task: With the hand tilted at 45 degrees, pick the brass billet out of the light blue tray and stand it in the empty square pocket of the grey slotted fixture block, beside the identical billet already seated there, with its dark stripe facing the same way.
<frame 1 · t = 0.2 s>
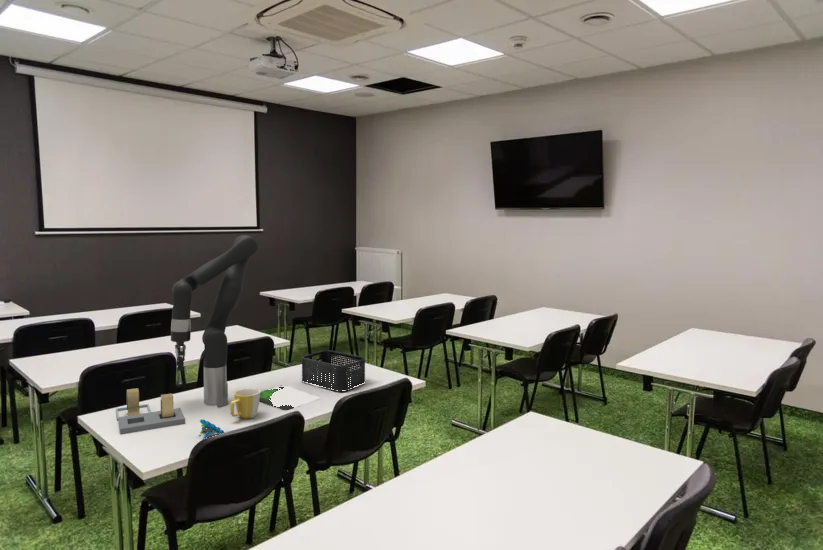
hand: (179, 368, 219), 18 cm above the table, tool pointing down, fingers open, 8 cm apart
light blue tray: (133, 415, 213), on the table
mug: (244, 418, 215), on the table
seated billet: (167, 420, 207), point 1 cm above the table, touching grey slotted fixture block
blue and green toy: (211, 437, 196), on the table
grey slotted fixture block: (152, 425, 204), on the table
storage bin: (333, 383, 263), on the table
brass billet: (133, 414, 213), point 1 cm above the table, touching light blue tray
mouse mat: (284, 398, 240), on the table
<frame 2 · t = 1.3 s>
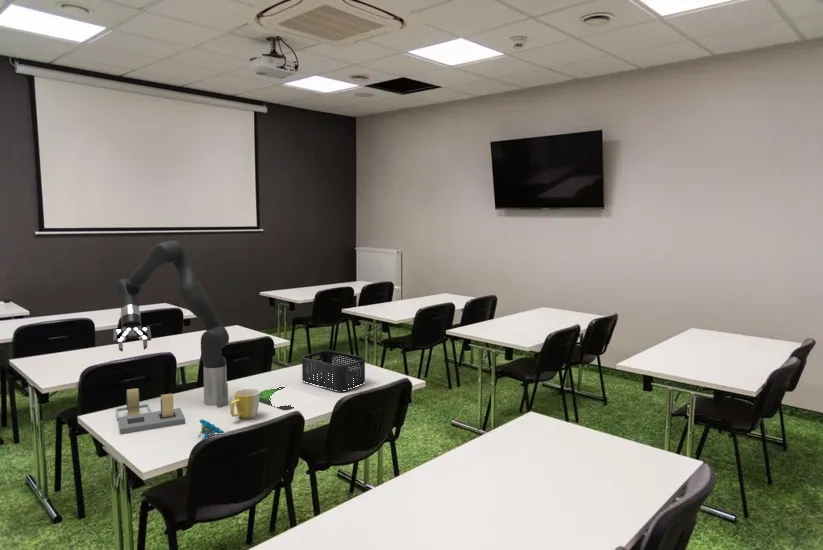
hand: (133, 349, 221), 25 cm above the table, tool tilted 45°, fingers open, 8 cm apart
nothing on the table moved.
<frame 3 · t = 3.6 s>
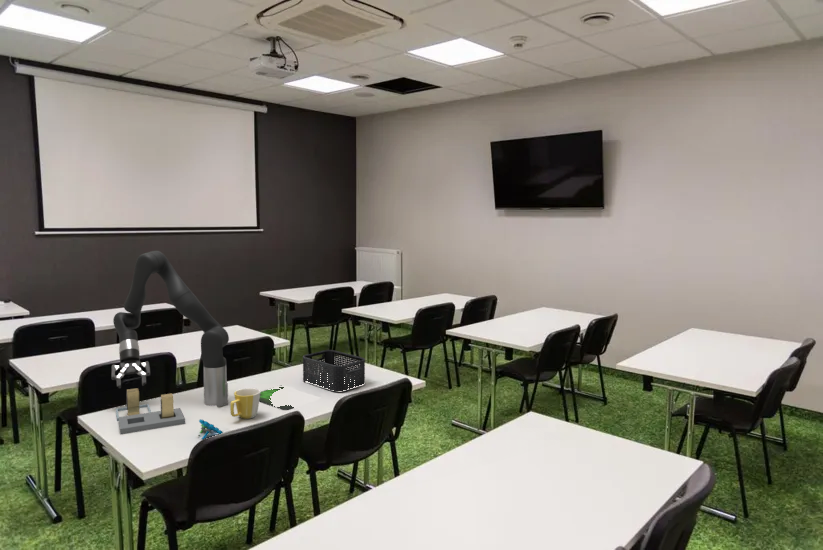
hand: (131, 386, 217), 11 cm above the table, tool tilted 45°, fingers open, 8 cm apart
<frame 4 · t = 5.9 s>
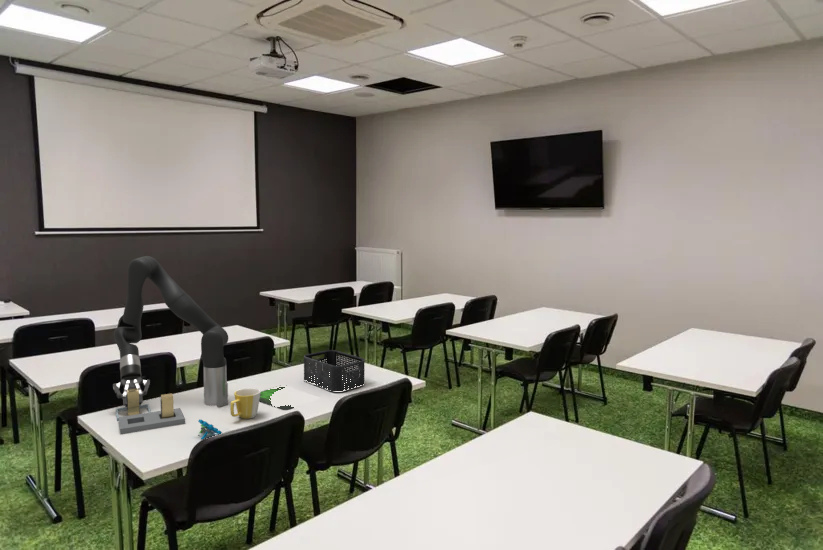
hand: (133, 405, 211), 5 cm above the table, tool tilted 45°, fingers closed on brass billet, 4 cm apart
brass billet: (133, 414, 213), point 1 cm above the table, touching gripper, light blue tray
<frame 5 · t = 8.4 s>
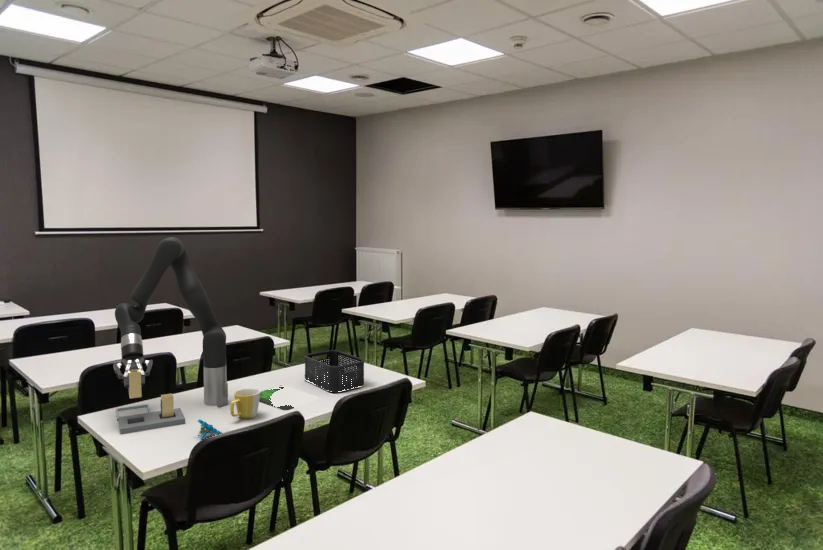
hand: (134, 386, 198), 17 cm above the table, tool tilted 45°, fingers closed on brass billet, 4 cm apart
brass billet: (135, 396, 200), point 12 cm above the table, touching gripper
when the fingers open (6 cm above the table, at t = 11.2 s): brass billet stays where it is, resting on grey slotted fixture block.
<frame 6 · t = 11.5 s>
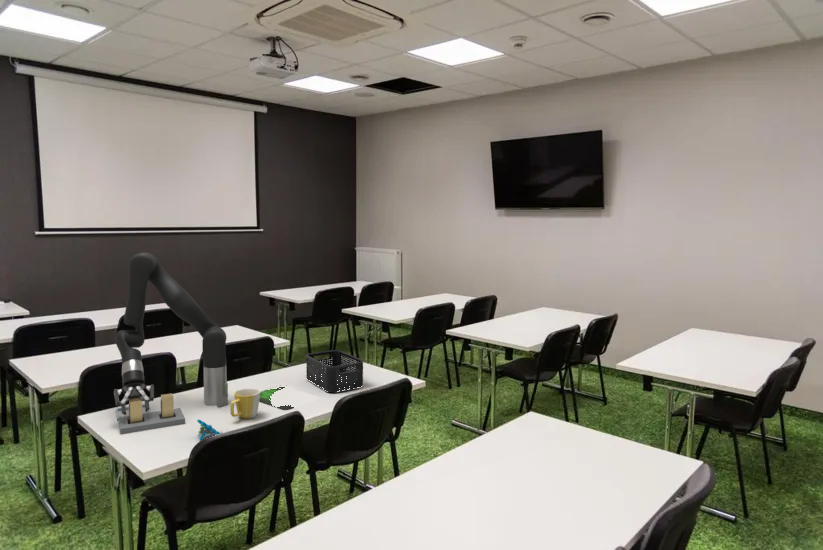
hand: (135, 412, 199), 7 cm above the table, tool tilted 45°, fingers open, 6 cm apart
brass billet: (136, 425, 201), point 1 cm above the table, touching grey slotted fixture block
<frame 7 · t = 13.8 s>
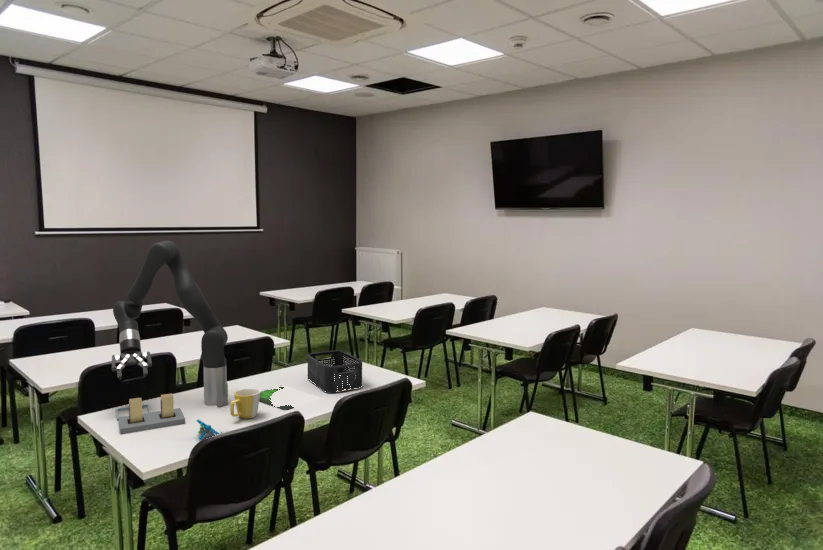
hand: (133, 377, 210), 17 cm above the table, tool tilted 45°, fingers open, 8 cm apart
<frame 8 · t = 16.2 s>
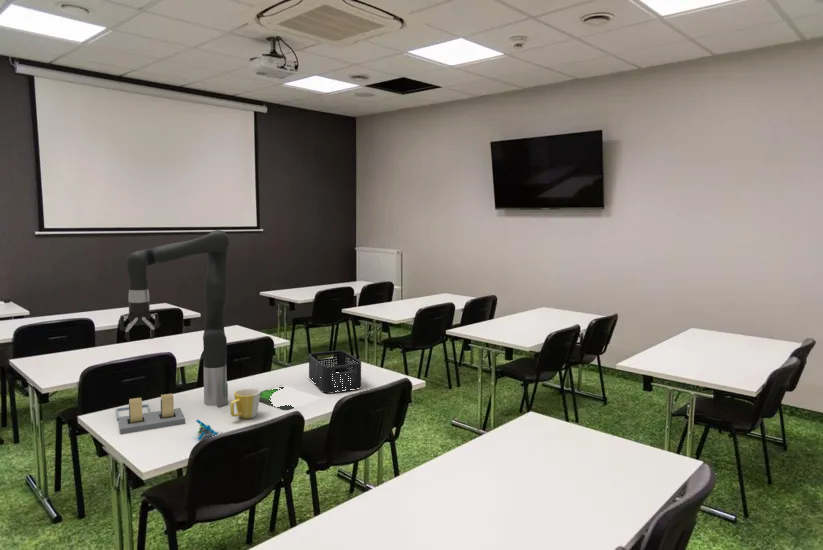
hand: (140, 339, 216), 30 cm above the table, tool pointing down, fingers open, 8 cm apart
at the end: brass billet 0.1 cm from the target spot on the grey slotted fixture block, point 1.0 cm above the grey slotted fixture block's base; brass billet tilted 0°; the gripper is holding nothing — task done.
